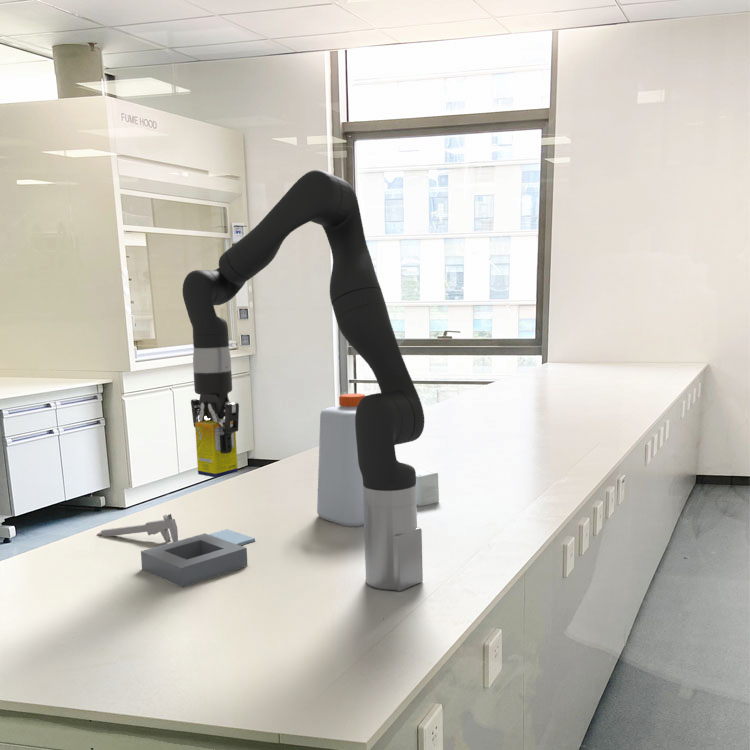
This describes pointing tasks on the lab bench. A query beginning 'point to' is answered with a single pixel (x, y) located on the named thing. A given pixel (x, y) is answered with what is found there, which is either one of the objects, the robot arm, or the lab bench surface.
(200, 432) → the supplement box
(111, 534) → the caliper
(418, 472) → the skincare box
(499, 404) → the lab bench surface
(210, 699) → the lab bench surface
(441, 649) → the lab bench surface
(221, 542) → the socket block
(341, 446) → the plastic bottle
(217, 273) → the robot arm
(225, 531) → the pad
